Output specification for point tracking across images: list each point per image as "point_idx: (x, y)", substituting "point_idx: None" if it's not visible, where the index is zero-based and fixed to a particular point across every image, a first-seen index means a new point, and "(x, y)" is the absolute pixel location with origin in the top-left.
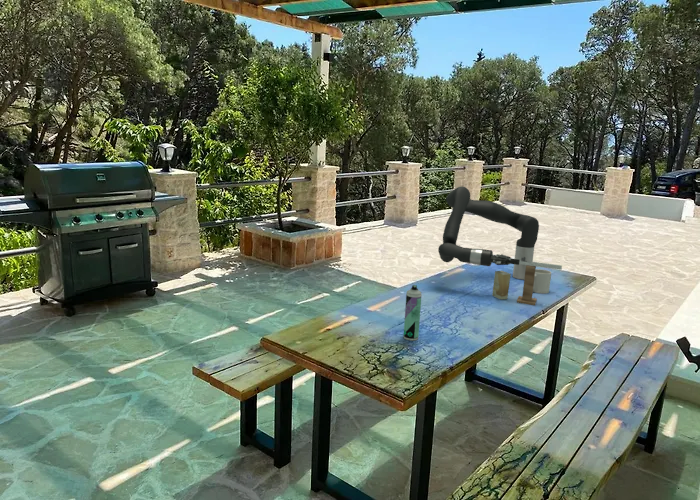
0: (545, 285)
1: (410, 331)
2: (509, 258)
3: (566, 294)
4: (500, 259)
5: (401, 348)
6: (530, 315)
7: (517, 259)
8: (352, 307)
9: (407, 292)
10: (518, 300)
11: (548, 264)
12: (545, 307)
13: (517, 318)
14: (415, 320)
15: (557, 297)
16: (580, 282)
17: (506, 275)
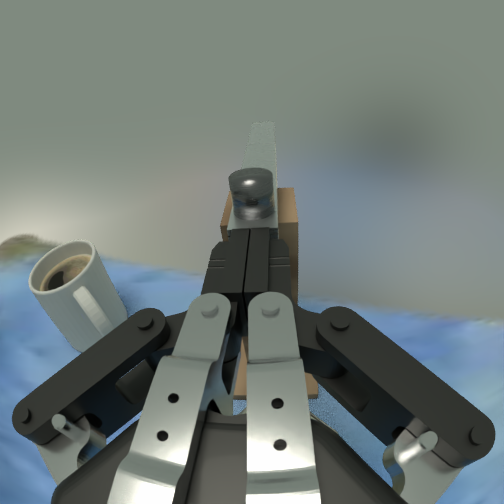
0: (114, 287)
1: None
2: (276, 306)
3: (123, 261)
4: (445, 412)
5: None
6: (440, 320)
7: (241, 239)
8: None
9: None
10: (312, 387)
11: (268, 137)
12: (311, 297)
13: (495, 342)
14: None
15: (162, 277)
16: (31, 246)
17: (312, 416)
